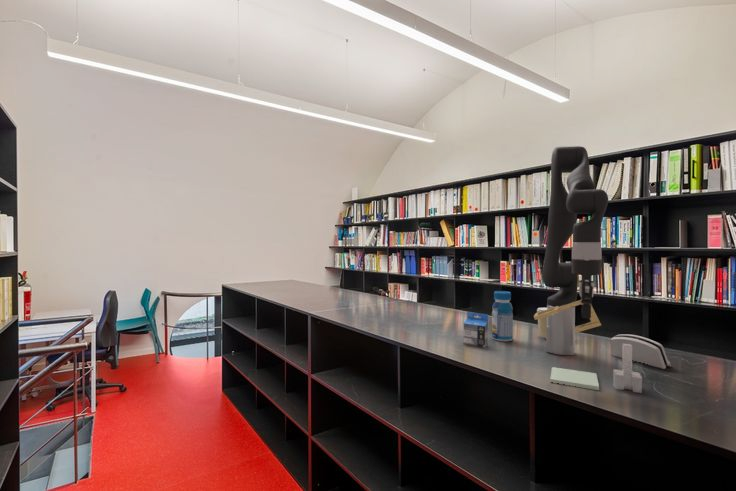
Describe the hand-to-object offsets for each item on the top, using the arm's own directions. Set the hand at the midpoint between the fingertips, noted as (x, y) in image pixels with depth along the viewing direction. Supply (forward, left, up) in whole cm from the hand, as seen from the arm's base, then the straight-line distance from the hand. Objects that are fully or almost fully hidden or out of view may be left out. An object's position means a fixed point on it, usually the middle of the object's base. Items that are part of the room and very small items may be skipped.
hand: (586, 317), depth 108 cm
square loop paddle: (-3, 0, -5) cm, 6 cm away
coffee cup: (-12, +54, -19) cm, 58 cm away
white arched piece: (+17, +31, -19) cm, 40 cm away
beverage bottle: (-29, +39, -19) cm, 52 cm away
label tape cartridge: (-37, +25, -19) cm, 49 cm away
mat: (-3, 0, -19) cm, 19 cm away
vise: (+10, +3, -19) cm, 21 cm away
